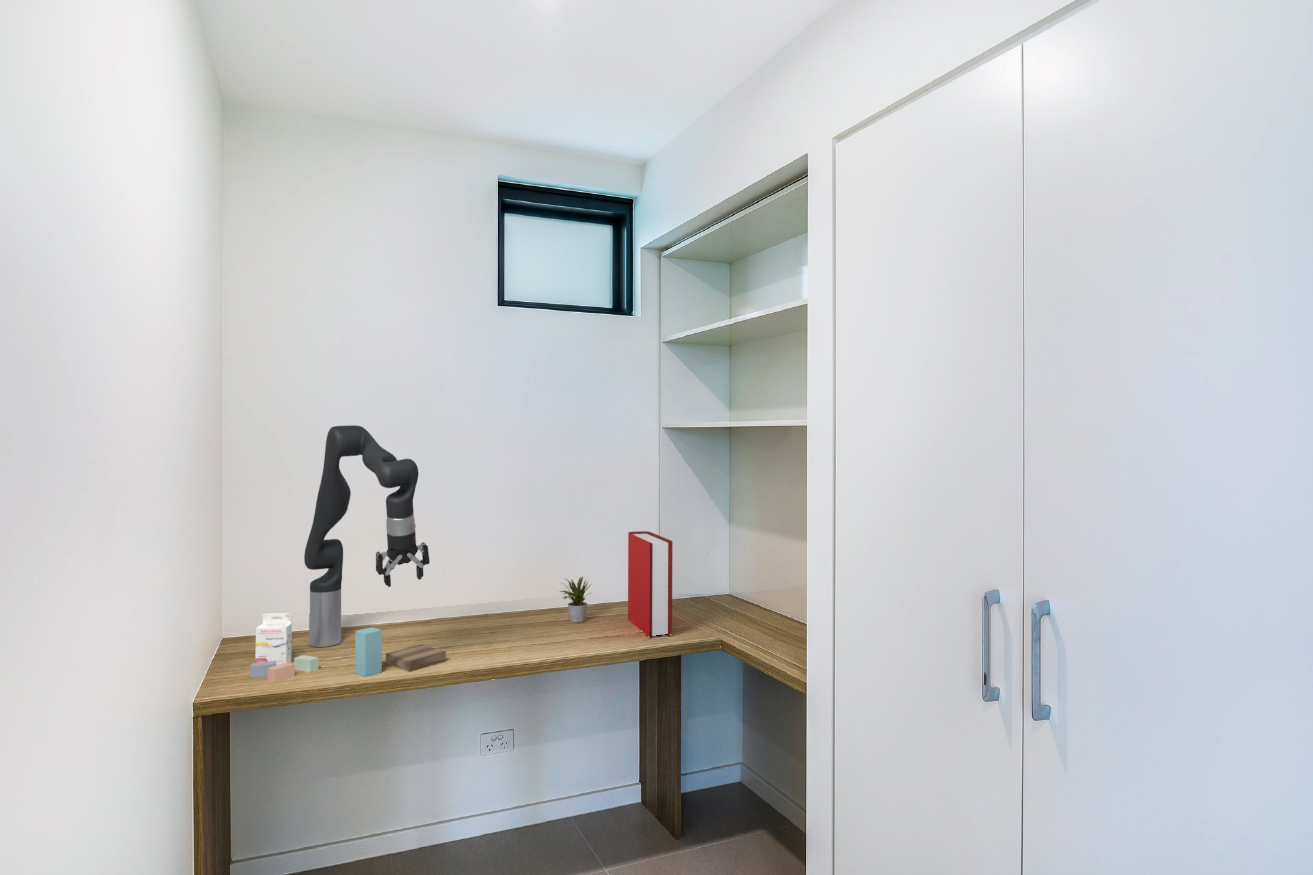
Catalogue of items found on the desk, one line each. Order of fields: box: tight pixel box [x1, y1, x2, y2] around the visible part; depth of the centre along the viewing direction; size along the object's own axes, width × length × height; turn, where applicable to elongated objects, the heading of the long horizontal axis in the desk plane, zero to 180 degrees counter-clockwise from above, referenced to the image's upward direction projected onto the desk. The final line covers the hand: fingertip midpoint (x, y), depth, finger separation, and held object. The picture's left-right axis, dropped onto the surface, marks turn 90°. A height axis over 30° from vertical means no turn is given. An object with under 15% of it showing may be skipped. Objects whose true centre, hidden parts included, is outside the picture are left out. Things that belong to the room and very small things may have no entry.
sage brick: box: [293, 654, 319, 673], centre depth 210 cm, size 6×3×4 cm, turn 68°
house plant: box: [559, 576, 591, 623], centre depth 268 cm, size 14×14×16 cm
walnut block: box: [385, 643, 447, 672], centre depth 217 cm, size 12×12×3 cm
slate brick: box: [250, 661, 276, 679], centre depth 205 cm, size 6×3×4 cm, turn 113°
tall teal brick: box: [354, 626, 383, 678], centre depth 207 cm, size 5×5×12 cm
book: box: [627, 530, 673, 638], centre depth 258 cm, size 27×8×32 cm, turn 18°
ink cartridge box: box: [254, 612, 293, 665], centre depth 214 cm, size 9×5×15 cm, turn 99°
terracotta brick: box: [267, 662, 296, 683], centre depth 202 cm, size 6×3×4 cm, turn 153°
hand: (404, 582), depth 209 cm, fingers open, 8 cm apart
